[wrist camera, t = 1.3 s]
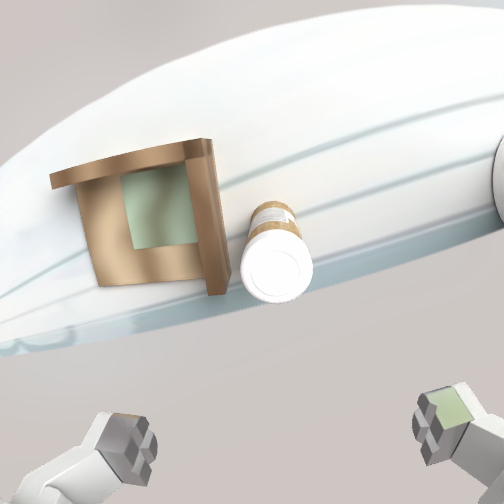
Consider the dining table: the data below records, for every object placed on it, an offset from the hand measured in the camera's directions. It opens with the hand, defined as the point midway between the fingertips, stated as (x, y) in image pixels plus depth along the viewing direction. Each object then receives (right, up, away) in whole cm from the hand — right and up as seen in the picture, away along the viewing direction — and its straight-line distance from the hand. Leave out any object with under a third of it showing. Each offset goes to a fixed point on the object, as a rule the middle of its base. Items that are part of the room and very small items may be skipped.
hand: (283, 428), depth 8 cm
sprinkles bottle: (+1, +8, +24) cm, 26 cm away
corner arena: (-12, +9, +25) cm, 29 cm away
